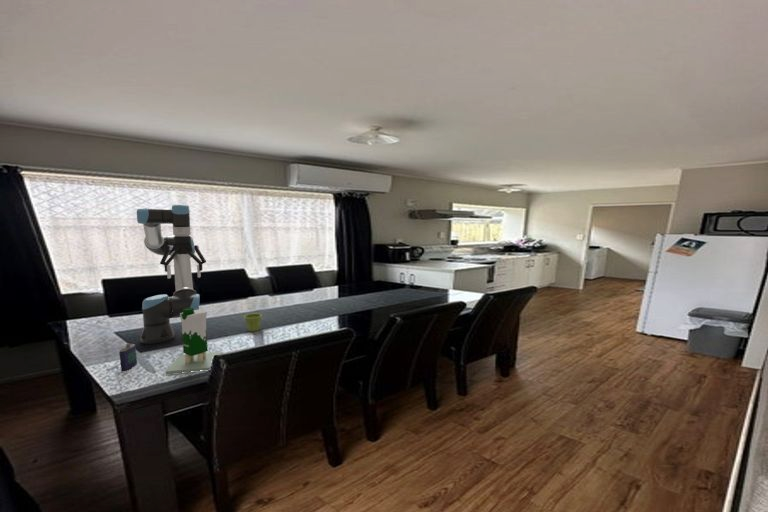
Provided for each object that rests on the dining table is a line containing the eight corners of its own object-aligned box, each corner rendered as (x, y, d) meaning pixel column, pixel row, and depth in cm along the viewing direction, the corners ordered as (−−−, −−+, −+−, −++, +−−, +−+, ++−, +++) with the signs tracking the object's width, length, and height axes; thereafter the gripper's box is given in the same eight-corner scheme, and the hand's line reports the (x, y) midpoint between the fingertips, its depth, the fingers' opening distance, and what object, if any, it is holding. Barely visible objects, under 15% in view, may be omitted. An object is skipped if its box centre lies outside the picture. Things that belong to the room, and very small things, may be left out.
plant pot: (256, 333, 193) (255, 318, 192) (241, 332, 195) (241, 317, 194) (265, 328, 202) (264, 313, 201) (251, 327, 204) (250, 313, 203)
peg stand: (165, 374, 141) (165, 362, 140) (180, 358, 158) (179, 346, 157) (213, 370, 145) (212, 358, 144) (222, 354, 162) (221, 343, 162)
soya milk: (180, 353, 149) (177, 308, 147) (200, 346, 157) (198, 304, 155) (190, 357, 145) (188, 311, 143) (211, 350, 152) (209, 307, 150)
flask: (132, 363, 152) (130, 340, 151) (139, 362, 152) (137, 339, 151) (119, 372, 143) (117, 347, 142) (126, 371, 143) (125, 347, 142)
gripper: (150, 236, 163) (153, 279, 165) (207, 235, 169) (209, 277, 172) (156, 235, 171) (159, 277, 173) (211, 235, 177) (213, 275, 179)
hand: (184, 277), depth 172 cm, fingers open, 13 cm apart
